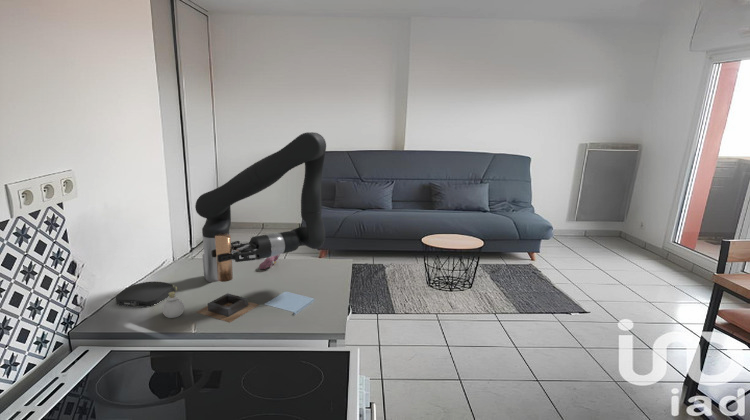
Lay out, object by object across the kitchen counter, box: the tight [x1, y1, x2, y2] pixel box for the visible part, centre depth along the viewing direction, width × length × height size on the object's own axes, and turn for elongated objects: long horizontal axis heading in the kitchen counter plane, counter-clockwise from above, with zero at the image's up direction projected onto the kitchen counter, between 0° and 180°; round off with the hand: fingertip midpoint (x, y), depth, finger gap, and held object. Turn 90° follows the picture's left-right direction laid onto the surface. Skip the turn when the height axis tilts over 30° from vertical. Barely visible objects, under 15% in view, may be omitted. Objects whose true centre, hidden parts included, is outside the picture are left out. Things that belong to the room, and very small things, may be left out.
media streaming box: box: [115, 281, 175, 307], centre depth 146 cm, size 15×15×3 cm
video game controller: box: [258, 254, 281, 270], centre depth 175 cm, size 10×5×7 cm, turn 170°
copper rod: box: [215, 233, 234, 283], centre depth 133 cm, size 4×4×14 cm
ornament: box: [162, 285, 185, 319], centre depth 132 cm, size 6×7×10 cm
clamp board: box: [196, 292, 260, 323], centre depth 137 cm, size 14×13×4 cm
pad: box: [264, 291, 315, 316], centre depth 142 cm, size 12×11×1 cm
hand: (215, 256), depth 131 cm, fingers closed on copper rod, 4 cm apart
